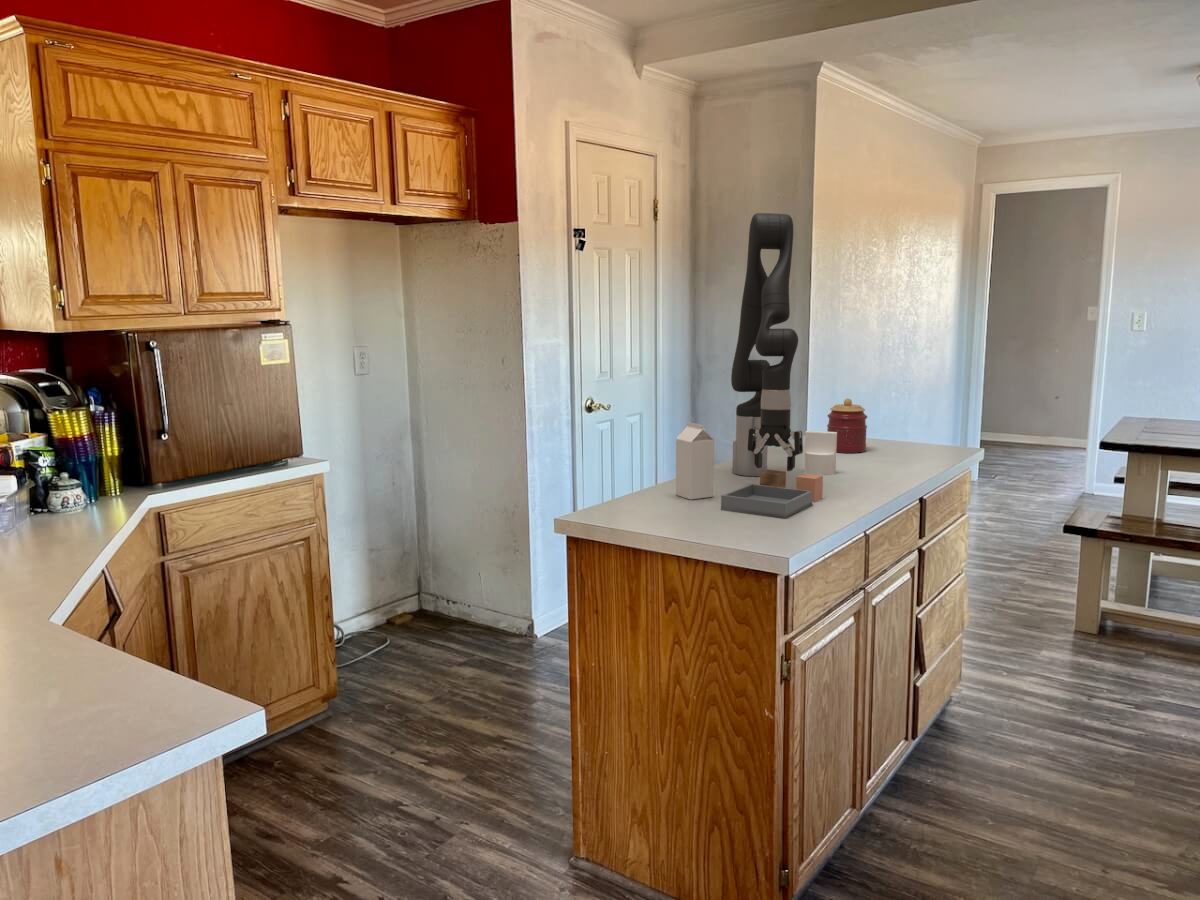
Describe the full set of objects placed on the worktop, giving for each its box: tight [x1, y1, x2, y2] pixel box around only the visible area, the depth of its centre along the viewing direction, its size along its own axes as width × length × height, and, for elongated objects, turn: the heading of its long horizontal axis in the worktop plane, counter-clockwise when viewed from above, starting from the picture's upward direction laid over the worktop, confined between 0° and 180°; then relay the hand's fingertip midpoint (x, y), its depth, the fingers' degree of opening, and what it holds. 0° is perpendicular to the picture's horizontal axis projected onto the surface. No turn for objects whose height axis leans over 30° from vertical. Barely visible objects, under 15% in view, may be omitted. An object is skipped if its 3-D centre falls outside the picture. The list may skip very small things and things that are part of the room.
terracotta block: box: [795, 473, 824, 503], centre depth 224 cm, size 5×5×6 cm
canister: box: [826, 398, 868, 454], centre depth 296 cm, size 13×13×18 cm
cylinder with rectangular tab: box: [803, 430, 837, 476], centre depth 259 cm, size 9×9×12 cm
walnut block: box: [759, 469, 787, 488], centre depth 230 cm, size 5×5×6 cm
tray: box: [720, 483, 813, 519], centre depth 215 cm, size 17×17×4 cm
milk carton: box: [675, 421, 715, 500], centre depth 227 cm, size 7×7×19 cm
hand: (774, 469), depth 229 cm, fingers open, 8 cm apart
